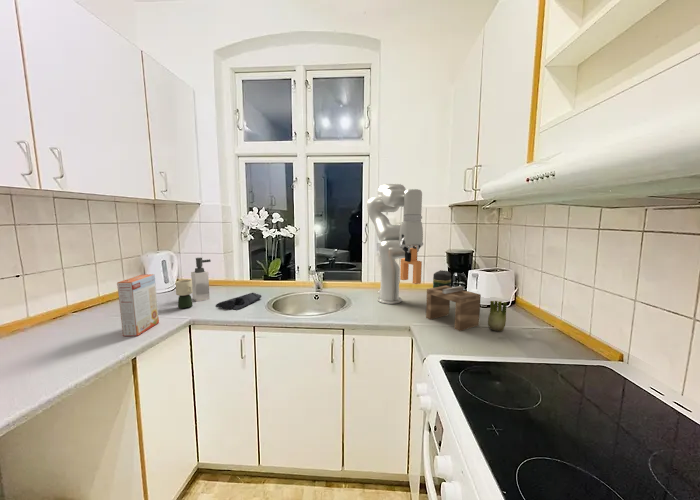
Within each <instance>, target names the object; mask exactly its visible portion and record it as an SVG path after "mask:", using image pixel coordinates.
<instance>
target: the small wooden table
mask: <svg viewBox="0 0 700 500" xmlns="http://www.w3.org/2000/svg"><path fill="white" fill-rule="evenodd" d="M451 302H454V303H455V309H454V310H455V311H454V313H455V314H454V330H456V331H459V332H461V331H465V330H469V329H471V328H474V327H478V326H480V316H481V315H480V311H481V294H480V293H476V292H472V291H468V290H464V286H461V285H459V286H458V285H457V286H451V287H450V286H441V287H435V288H433V287H431V288H427V289H426V303H425V304H426V308H425V310H426V311H425V318H426V319H428V320H433V319H438V318H441V317H445V316H446V317H447V316H449V315H450V308H449V306H450V305H451Z"/></svg>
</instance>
